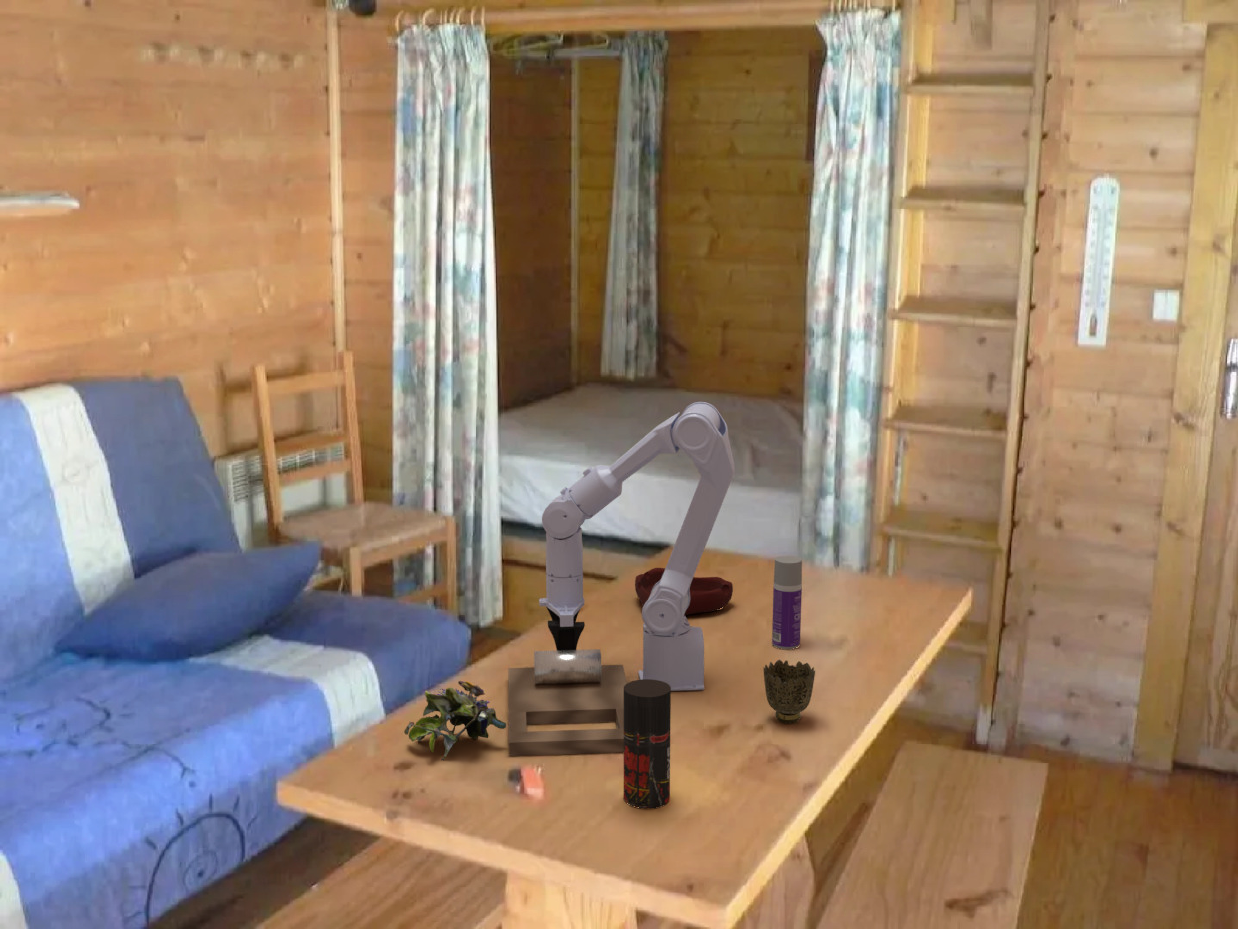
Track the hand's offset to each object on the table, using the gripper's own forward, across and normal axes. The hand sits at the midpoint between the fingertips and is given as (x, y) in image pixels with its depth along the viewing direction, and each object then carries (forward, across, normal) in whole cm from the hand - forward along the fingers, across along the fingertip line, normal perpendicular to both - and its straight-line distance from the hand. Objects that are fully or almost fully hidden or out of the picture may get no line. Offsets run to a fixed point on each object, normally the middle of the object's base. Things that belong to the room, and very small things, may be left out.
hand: (565, 655), depth 216 cm
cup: (+4, +20, +32) cm, 37 cm away
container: (+4, -11, +38) cm, 39 cm away
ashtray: (+4, -32, +21) cm, 38 cm away
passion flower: (+4, +26, -16) cm, 31 cm away
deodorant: (+4, +43, +9) cm, 44 cm away
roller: (-1, +8, 0) cm, 8 cm away
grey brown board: (+3, +15, 0) cm, 15 cm away
